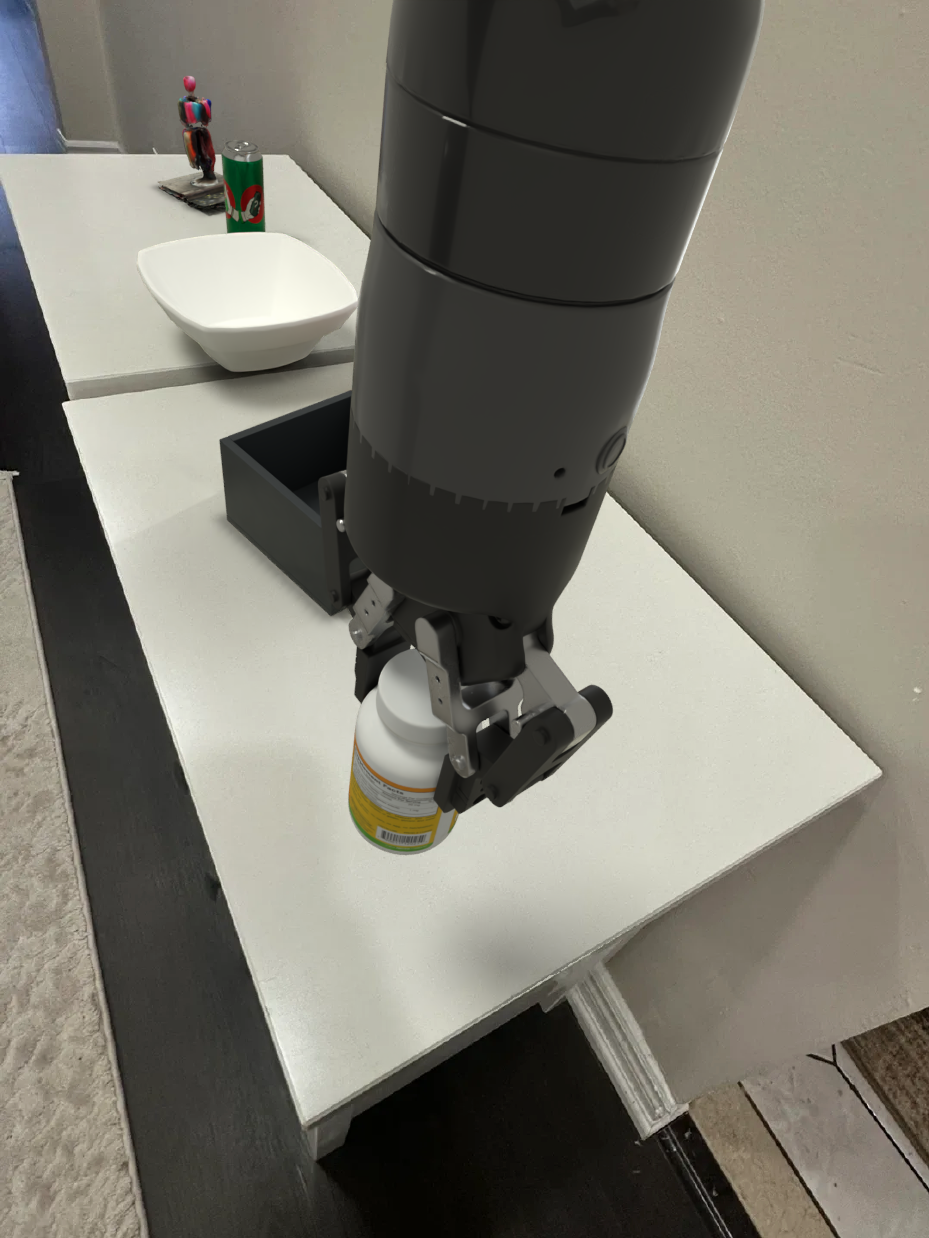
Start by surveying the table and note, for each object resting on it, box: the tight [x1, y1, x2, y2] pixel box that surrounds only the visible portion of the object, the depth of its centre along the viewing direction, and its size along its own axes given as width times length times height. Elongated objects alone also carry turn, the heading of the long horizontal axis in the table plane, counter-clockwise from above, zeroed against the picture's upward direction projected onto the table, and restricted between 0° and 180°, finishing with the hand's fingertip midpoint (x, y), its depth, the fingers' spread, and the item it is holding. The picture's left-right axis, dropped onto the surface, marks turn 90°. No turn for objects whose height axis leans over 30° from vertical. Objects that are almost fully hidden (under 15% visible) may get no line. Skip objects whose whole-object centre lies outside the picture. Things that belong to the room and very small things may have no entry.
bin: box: [218, 389, 366, 617], centre depth 66 cm, size 15×15×9 cm
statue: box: [157, 75, 225, 210], centre depth 108 cm, size 11×9×15 cm
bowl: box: [136, 231, 359, 373], centre depth 84 cm, size 21×21×9 cm
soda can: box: [220, 139, 267, 234], centre depth 100 cm, size 5×5×12 cm
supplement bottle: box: [347, 647, 484, 856], centre depth 34 cm, size 5×5×10 cm
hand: (417, 743), depth 33 cm, fingers closed on supplement bottle, 5 cm apart
